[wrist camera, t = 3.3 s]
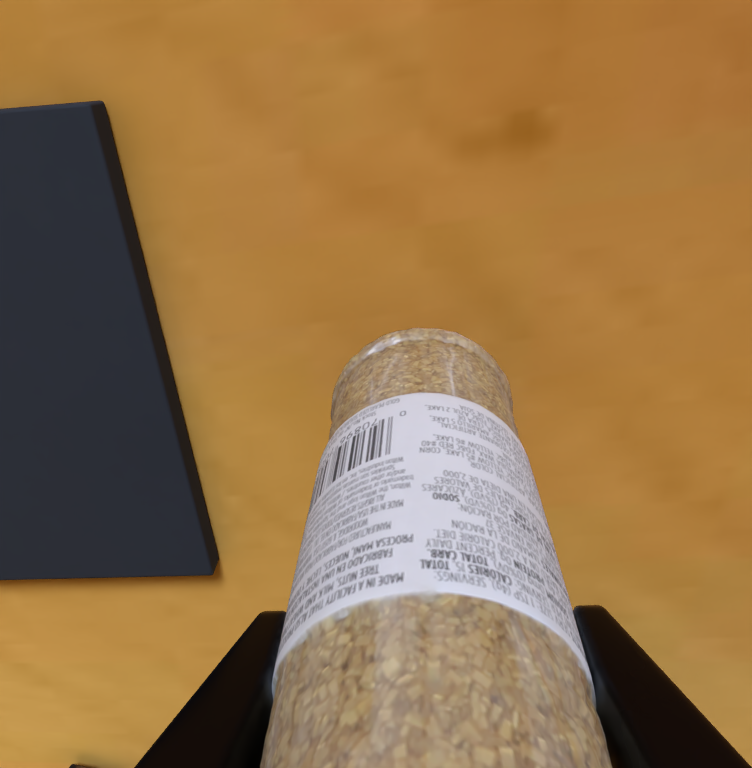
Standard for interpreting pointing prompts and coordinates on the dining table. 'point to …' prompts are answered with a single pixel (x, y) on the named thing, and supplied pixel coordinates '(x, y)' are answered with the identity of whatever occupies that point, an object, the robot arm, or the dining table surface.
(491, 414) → the spice jar
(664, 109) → the dining table surface
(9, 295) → the desk mat
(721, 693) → the dining table surface
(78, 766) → the can opener
